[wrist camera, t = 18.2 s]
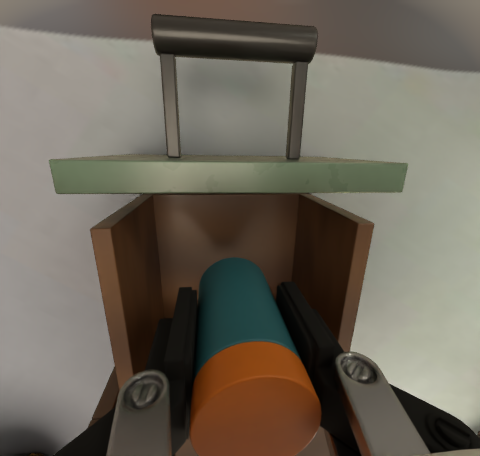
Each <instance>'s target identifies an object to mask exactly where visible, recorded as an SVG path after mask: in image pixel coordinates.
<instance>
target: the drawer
mask: <svg viewBox="0 0 480 456" xmlns="http://www.w3.org/2000/svg"><path fill="white" fill-rule="evenodd" d="M151 30H152V38H153V44H154V48H155V51H156V53H157V55H159V56H160V62H161V76H162V89H163V103H164V117H165V131H166V144H167V155H149V154H126V155H111V156H96V157H81V158H66V159H51V160H49V164H50V168H51V173H52V177H53V182H54V187H55V191H56V193H57V194H142V195H140V196H139V197H137V198H136V199H134V200H133V201H131V202H130V203H128V204H127V205H125V206H124V207H122V208H121V209H119V210H118V211H116V212H115V213H113V214H112V215H110V216H109V217H107V218H106V219H104V220H103V221H101V222H100V223H98V224H97V225H95V226H94V227H92V228H91V229H90V232H91V237H92V243H93V248H94V254H95V259H96V265H97V270H98V276H99V281H100V287H101V292H102V298H103V303H104V309H105V314H106V320H107V325H108V331H109V336H110V341H111V347H112V352H113V358H114V363H115V369H116V374H117V380H118V385H119V391H120V389H121V387H122V386H123V385H124V383H125V382H126V381H127V380H128V379H129V378H130V377H132V376H133V375H135V374H137V373H138V372H141V371H144V370H145V368H146V364H147V361H148V357H149V354H150V350H151V347H152V343H153V340H154V336H155V333H156V329H157V326H158V322H159V320H160V319H167V318H173V315H174V310H175V305H176V301H177V296H178V291H179V287H192V290H197V306H198V293H199V283H200V280H201V277H202V275H203V274H204V272H205V271H206V270H207V269H208V268H209V267H210V266H211V265H212V264H214V263H215V262H217V261H219V260H222V259H225V258H231V257H238V258H243V259H247V260H249V261H251V262H253V263H255V264H256V265H257V266H258V267H259V268H260V269H261V271H262V272H263V274H264V276H265V279H266V281H267V283H268V285H269V288H270V290H271V292H272V294H273V297H274V299H275V301H276V294H277V286H278V285H281V282H292V281H293V282H295V284H296V285H297V287H298V288H299V290H300V292H301V293H302V295H303V296H304V298H305V299H306V301H307V302H308V304H309V306H310V307H311V309H316V310H317V311H318V313H319V314H320V316H321V317H322V319H323V320H324V322H325V323H326V325H327V326H328V328H329V329H330V331H331V332H332V334H333V335H334V337H335V338H336V340H337V341H338V343H339V344H340V346H341V347H342V349H343V350H344V352H350V347H351V342H352V336H353V331H354V326H355V321H356V316H357V311H358V305H359V300H360V295H361V290H362V285H363V280H364V274H365V269H366V264H367V259H368V254H369V249H370V243H371V238H372V233H373V228H374V223H372V222H370V221H368V220H366V219H364V218H361V217H359V216H357V215H355V214H353V213H350V212H348V211H346V210H344V209H342V208H339V207H337V206H335V205H333V204H331V203H328V202H326V201H324V200H322V199H320V198H317V197H315V196H313V195H311V194H308V193H395V192H402V190H403V185H404V181H405V176H406V172H407V167H408V164H407V163H395V162H382V161H368V160H355V159H341V158H327V157H300V149H301V137H302V126H303V114H304V103H305V92H306V80H307V69H308V64H309V63H310V62H311V61H312V59H313V57H314V54H315V51H316V47H317V39H318V33H317V29H316V27H314V26H302V25H289V24H276V23H263V22H250V21H237V20H225V19H212V18H199V17H186V16H173V15H161V14H153V15H152V18H151ZM175 57H188V58H205V59H222V60H239V61H256V62H273V63H290V64H293V66H292V76H291V90H290V104H289V118H288V133H287V147H286V156H223V155H181V145H180V127H179V109H178V91H177V73H176V59H175Z"/></svg>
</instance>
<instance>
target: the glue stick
mask: <svg viewBox="0 0 480 456" xmlns="http://www.w3.org/2000/svg"><path fill="white" fill-rule="evenodd" d="M321 414H322V412H321V405H320V401H319V399H318V396H317V394H316V392H315V390H314V387H313V385H312V383H311V381H310V378H309V376H308V374H307V371H306V369H305V367H304V365H303V362H302V360H301V358H300V356H299V353H298V351H297V349H296V347H295V344H294V342H293V340H292V337H291V335H290V333H289V331H288V328H287V326H286V324H285V322H284V319H283V317H282V315H281V313H280V310H279V308H278V306H277V303H276V301H275V299H274V297H273V294H272V292H271V290H270V288H269V285H268V283H267V281H266V279H265V276H264V274H263V272H262V271H261V269H260V268H259V267H258V266H257V265H256V264H255V263H253V262H251V261H249V260H247V259H243V258H238V257H231V258H225V259H222V260H219V261H217V262H215V263H214V264H212V265H211V266H210V267H209V268H208V269H207V270H206V271H205V272H204V274H203V275H202V277H201V280H200V283H199V293H198V311H197V327H196V342H195V358H194V373H193V388H192V397H191V412H190V427H189V435H190V441H191V444H192V446H193V449H194V450H195V452H196V453H197V454H198V455H199V456H295V455H296V454H298V453H299V452H300V451H301V450H303V449H304V448H305V447H306V446H307V445H308V444H309V443H310V441H311V440H312V439H313V438H314V436H315V434H316V433H317V431H318V428H319V426H320V422H321Z"/></svg>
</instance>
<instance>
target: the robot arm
mask: <svg viewBox="0 0 480 456" xmlns="http://www.w3.org/2000/svg"><path fill="white" fill-rule="evenodd" d="M276 303H277V306H278V308H279V310H280V313H281V315H282V317H283V319H284V322H285V324H286V326H287V328H288V331H289V333H290V335H291V337H292V340H293V342H294V344H295V347H296V349H297V351H298V353H299V356H300V358H301V360H302V362H303V365H304V367H305V369H306V371H307V374H308V376H309V378H310V381H311V383H312V385H313V387H314V390H315V392H316V394H317V396H318V399H319V401H320V405H321V412H322V414H321V422H320V426H321V427H322V428H323V429H324V433H325V438H326V441H327V445H328V449H329V453H330V456H480V431H479V432H478V434H477V435H476V434H475V433H474V432H473V431H472V430H471V429H470V428H469V427H468V426H467V425H466V424H464V423H463V422H462V421H461V420H459V419H457V418H456V417H454V416H452V415H451V414H449V413H447V412H445V411H443V410H441V409H439V408H437V407H435V406H433V405H431V404H429V403H427V402H425V401H423V400H421V399H419V398H417V397H415V396H413V395H411V394H409V393H407V392H405V391H403V390H401V389H399V388H397V387H395V386H393V385H391V384H389V383H388V381H387V380H386V378H385V376H384V375H383V373H382V371H381V370H380V368H379V367H378V366H377V365H376V363H374V362H373V361H372V360H371V359H369V358H368V357H366V356H364V355H362V354H359V353H357V352H344V350H343V349H342V347H341V346H340V344H339V343H338V341H337V340H336V338H335V337H334V335H333V334H332V332H331V331H330V329H329V328H328V326H327V325H326V323H325V322H324V320H323V319H322V317H321V316H320V314H319V313H318V311H317V310H316V309H311V307H310V306H309V304H308V302H307V301H306V299H305V298H304V296H303V295H302V293H301V292H300V290H299V288H298V287H297V285H296V284H295V282H293V281H292V282H281V285H278V286H277V294H276ZM197 311H198V306H197V290H192V287H179V291H178V296H177V301H176V305H175V310H174V315H173V318H167V319H160V320H159V322H158V326H157V329H156V333H155V336H154V340H153V343H152V347H151V350H150V354H149V357H148V361H147V364H146V368H145V370H144V371H141V372H138V373H137V374H135V375H133V376H132V377H130V378H129V379H128V380H127V381H126V382H125V383H124V385H123V386H122V387H121V389H120V391H119V394H118V398H117V403H116V407H114V408H113V409H112V410H111V411H109V412H108V413H107V414H105V415H104V416H103V417H102V418H100V419H99V420H98V421H97V422H95V423H94V424H93V425H91V426H90V427H89V428H88V429H86V430H85V431H84V432H83V433H81V434H80V435H79V436H78V437H76V438H75V439H74V440H72V441H71V442H70V443H69V444H67V445H66V446H65V447H64V448H62V449H61V450H60V451H58V452H57V453H56V454H55V455H53V456H176V452H177V451H178V450H179V449H180V448H181V446H182V445H183V444H184V443H185V442H186V439H189V427H190V412H191V397H192V388H193V373H194V358H195V342H196V327H197Z"/></svg>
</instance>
